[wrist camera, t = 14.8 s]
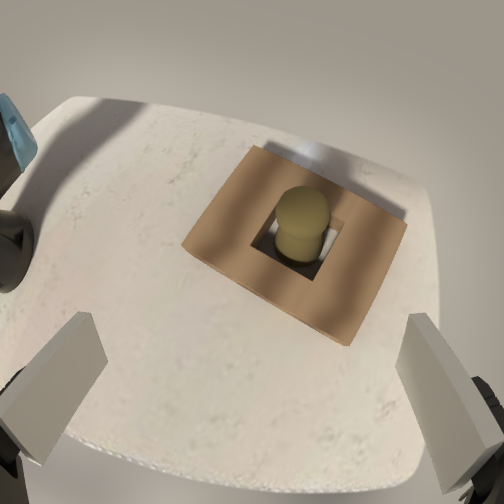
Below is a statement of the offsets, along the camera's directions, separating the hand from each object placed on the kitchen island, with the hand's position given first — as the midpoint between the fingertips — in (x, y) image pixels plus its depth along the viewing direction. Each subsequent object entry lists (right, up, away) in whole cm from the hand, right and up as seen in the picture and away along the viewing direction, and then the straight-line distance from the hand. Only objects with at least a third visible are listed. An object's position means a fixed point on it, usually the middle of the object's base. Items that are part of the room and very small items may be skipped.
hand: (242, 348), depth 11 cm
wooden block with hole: (+6, +5, +26) cm, 27 cm away
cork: (+6, +5, +26) cm, 27 cm away
